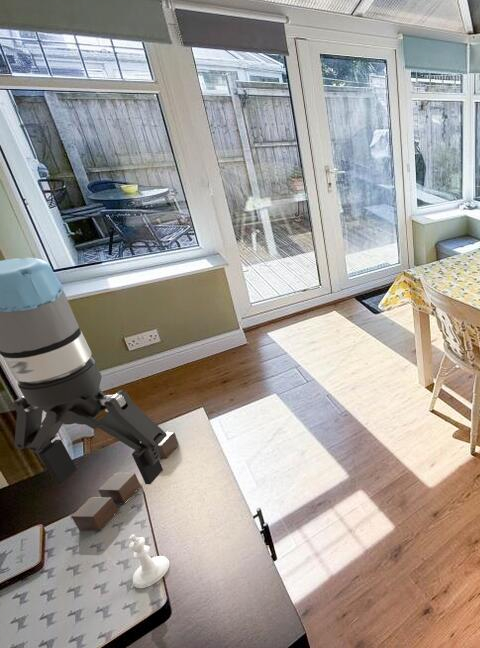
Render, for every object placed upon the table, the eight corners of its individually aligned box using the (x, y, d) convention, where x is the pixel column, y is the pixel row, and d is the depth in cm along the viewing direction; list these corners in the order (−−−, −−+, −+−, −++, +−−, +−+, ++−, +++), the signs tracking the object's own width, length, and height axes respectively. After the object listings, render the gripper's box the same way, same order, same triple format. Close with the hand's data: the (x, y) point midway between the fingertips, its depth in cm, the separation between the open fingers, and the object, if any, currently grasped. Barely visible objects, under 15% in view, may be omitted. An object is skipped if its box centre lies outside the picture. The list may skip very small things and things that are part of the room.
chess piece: (155, 554, 74) (138, 517, 70) (176, 563, 73) (159, 525, 69) (125, 582, 70) (105, 544, 66) (147, 592, 69) (127, 554, 65)
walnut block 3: (148, 458, 93) (142, 445, 91) (162, 444, 96) (156, 431, 95) (166, 458, 93) (161, 445, 91) (179, 444, 96) (174, 431, 95)
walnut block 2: (105, 503, 83) (97, 489, 81) (122, 485, 86) (115, 472, 85) (125, 504, 83) (118, 490, 81) (141, 486, 86) (135, 472, 85)
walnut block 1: (79, 530, 78) (70, 516, 76) (98, 510, 81) (90, 496, 80) (100, 531, 78) (92, 516, 76) (118, 511, 81) (111, 497, 80)
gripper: (-73, 385, 53) (3, 498, 62) (125, 386, 54) (174, 498, 62) (-7, 351, 60) (53, 457, 68) (167, 353, 61) (206, 457, 69)
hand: (111, 477), depth 65 cm, fingers open, 13 cm apart
